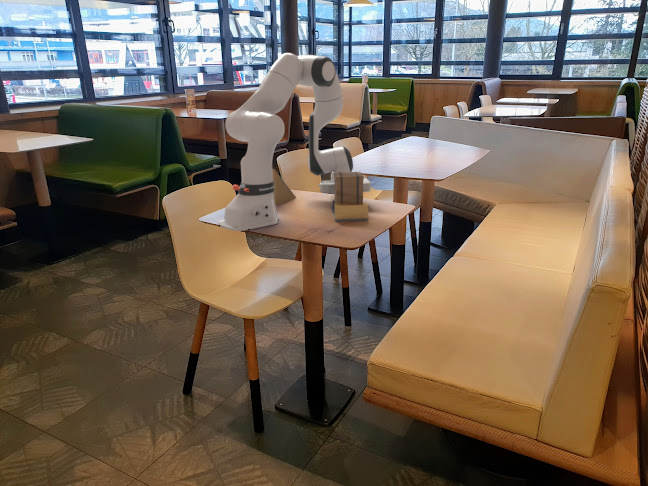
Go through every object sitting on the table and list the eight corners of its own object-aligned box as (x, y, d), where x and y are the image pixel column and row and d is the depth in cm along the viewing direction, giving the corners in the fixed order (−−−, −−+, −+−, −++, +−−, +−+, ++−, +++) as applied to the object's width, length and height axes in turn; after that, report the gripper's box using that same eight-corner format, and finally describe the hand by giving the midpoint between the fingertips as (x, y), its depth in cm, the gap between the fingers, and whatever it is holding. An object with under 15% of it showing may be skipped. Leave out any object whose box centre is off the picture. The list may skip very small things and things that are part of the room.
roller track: (330, 205, 199) (330, 191, 197) (359, 205, 200) (360, 190, 198) (335, 221, 178) (335, 205, 176) (367, 220, 179) (368, 204, 177)
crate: (334, 203, 191) (334, 172, 187) (360, 202, 191) (360, 171, 187) (336, 208, 183) (336, 176, 179) (362, 207, 184) (363, 176, 180)
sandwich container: (297, 197, 213) (296, 163, 208) (276, 205, 201) (274, 169, 196) (281, 195, 218) (280, 161, 213) (259, 203, 205) (257, 167, 200)
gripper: (318, 176, 201) (320, 183, 188) (367, 175, 202) (373, 182, 189) (318, 191, 203) (320, 199, 190) (367, 190, 204) (372, 198, 191)
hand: (347, 190), depth 189 cm, fingers closed, pressing on crate
